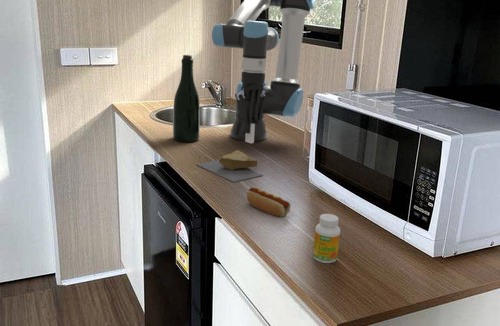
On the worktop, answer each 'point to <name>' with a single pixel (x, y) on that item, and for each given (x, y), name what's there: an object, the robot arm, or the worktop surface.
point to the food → (268, 202)
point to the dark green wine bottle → (186, 105)
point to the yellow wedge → (237, 161)
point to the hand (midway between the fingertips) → (249, 142)
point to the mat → (229, 171)
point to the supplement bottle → (326, 239)
